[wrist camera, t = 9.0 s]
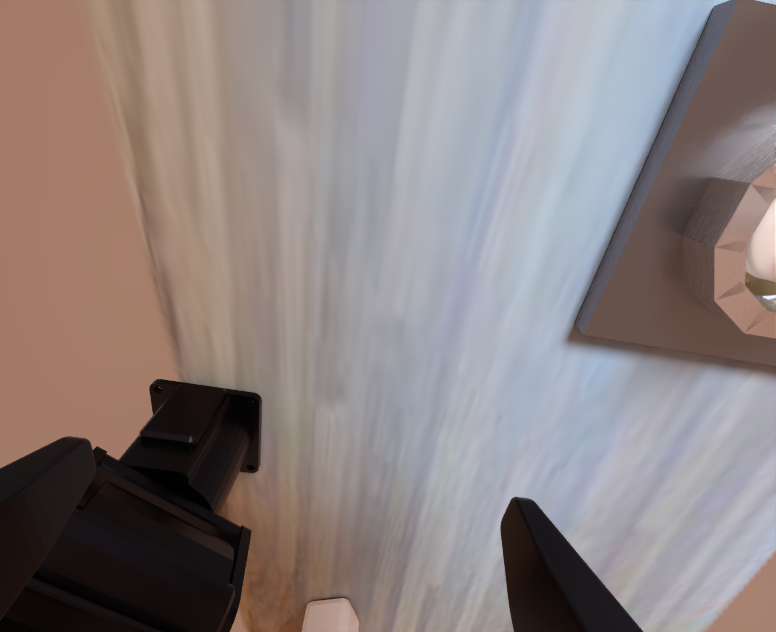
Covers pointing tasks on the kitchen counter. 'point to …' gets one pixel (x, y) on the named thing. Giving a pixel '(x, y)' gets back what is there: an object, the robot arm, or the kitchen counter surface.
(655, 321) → the hub plate
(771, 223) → the chess piece
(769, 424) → the kitchen counter surface
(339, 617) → the salt shaker
